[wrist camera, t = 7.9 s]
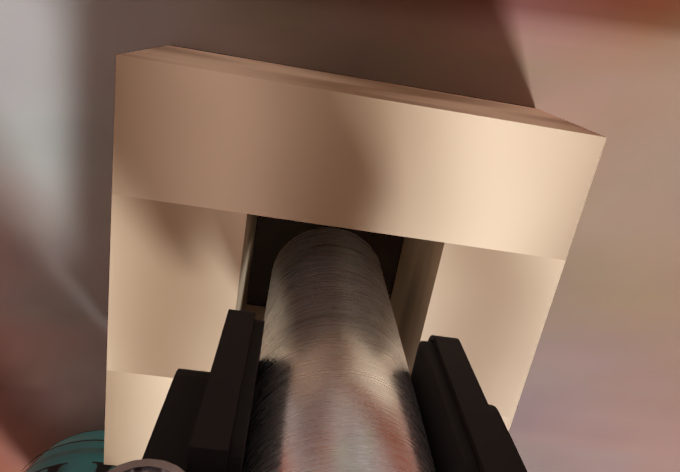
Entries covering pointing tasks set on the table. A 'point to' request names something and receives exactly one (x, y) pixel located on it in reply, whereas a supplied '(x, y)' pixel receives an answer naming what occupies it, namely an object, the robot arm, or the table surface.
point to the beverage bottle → (74, 455)
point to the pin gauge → (333, 367)
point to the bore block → (326, 212)
